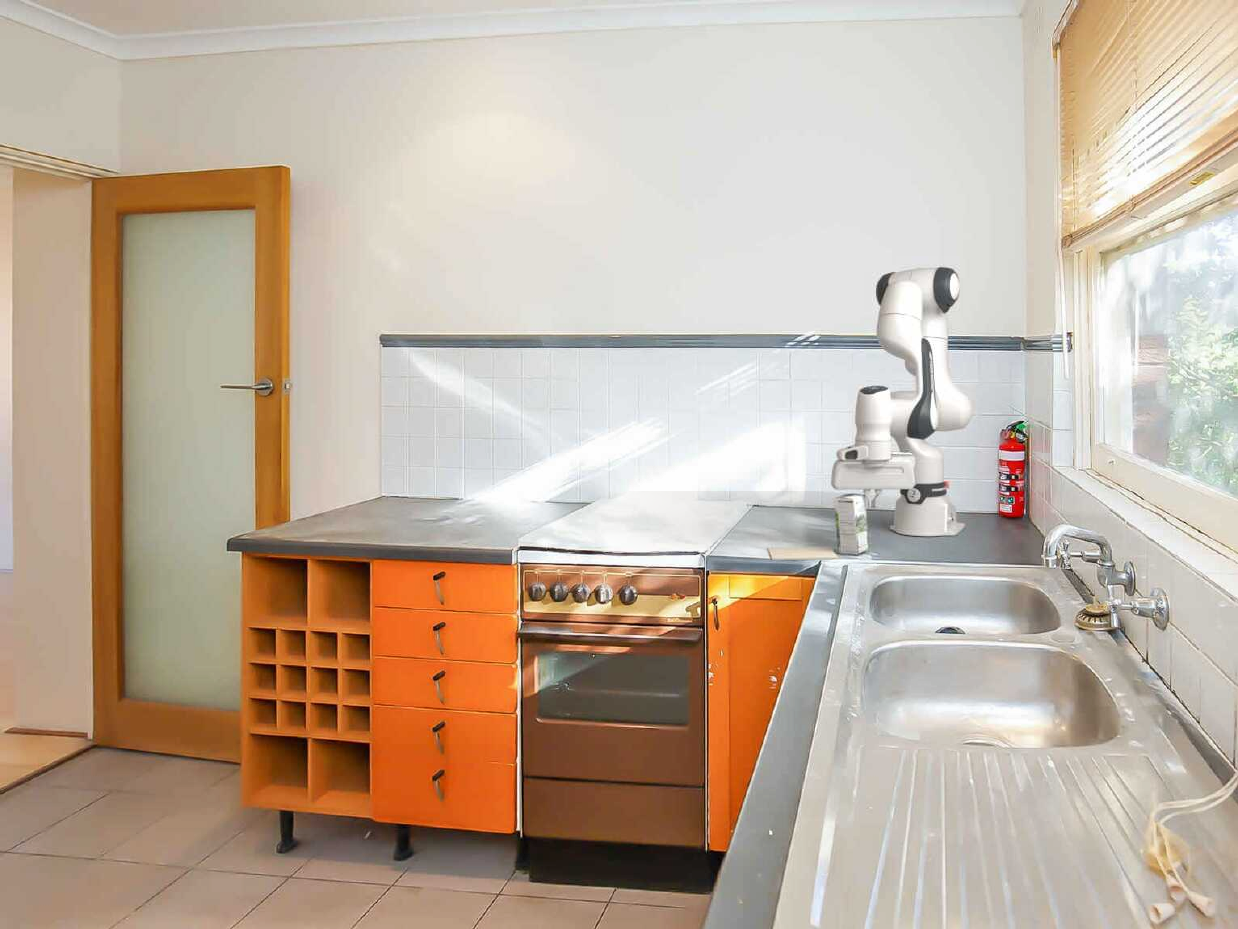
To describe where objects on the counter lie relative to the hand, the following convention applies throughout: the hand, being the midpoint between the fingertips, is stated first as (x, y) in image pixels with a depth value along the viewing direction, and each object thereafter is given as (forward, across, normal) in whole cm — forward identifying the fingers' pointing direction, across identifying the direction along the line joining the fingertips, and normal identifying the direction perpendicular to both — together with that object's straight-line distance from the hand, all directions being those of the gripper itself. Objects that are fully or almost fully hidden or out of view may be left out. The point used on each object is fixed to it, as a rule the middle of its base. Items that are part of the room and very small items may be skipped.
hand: (872, 507), depth 264 cm
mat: (+12, +17, -1) cm, 21 cm away
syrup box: (+12, +4, -1) cm, 12 cm away
